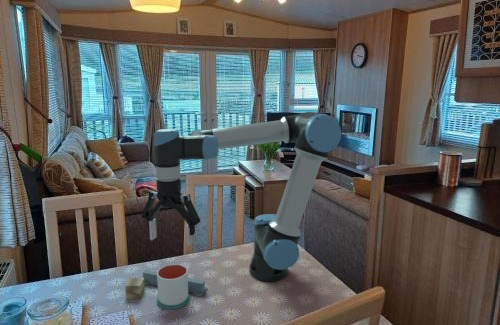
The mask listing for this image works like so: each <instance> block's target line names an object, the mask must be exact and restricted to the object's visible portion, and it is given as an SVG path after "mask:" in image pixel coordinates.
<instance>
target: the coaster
mask: <svg viewBox="0 0 500 325" xmlns="http://www.w3.org/2000/svg"><path fill="white" fill-rule="evenodd" d="M190 299H191V296H190V294H189V293H188V297H187V299H186V300H185V301H184V302H182V303H181V304H178V305H174V306H168V305H164V304H162V303H161V302H160V301H159V298H158V297H157V299H156V304H157V306H158V307H159V308H161V309H163V310H168V311H169V310H177V309H180V308H181V309H182V307H185V306H186V305H188V304H189V302H190Z"/></svg>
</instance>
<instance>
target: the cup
mask: <svg viewBox="0 0 500 325" xmlns="http://www.w3.org/2000/svg"><path fill="white" fill-rule="evenodd" d="M156 272H157V283H158V285H157V298H159V301H160V302H161V303H162V304H164V305H168V306H174V305H178V304H181V303H182V302H184V301H185V300H186V299H187V297H188V294H189V292H188V278H189V273H188V272H189V270H188V268H187V267H186V266H184V265H181V264H169V265H166V266H165V265H164V266H163V267H161V268H160V269H159V270H158V271H156Z"/></svg>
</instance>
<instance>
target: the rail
mask: <svg viewBox="0 0 500 325" xmlns="http://www.w3.org/2000/svg"><path fill="white" fill-rule="evenodd" d="M157 272H158V271H152V270H148V269H145V270H144V271H143V272H142V278H144V285H145V287H146V286H148V285H153V286H158V283H157ZM207 290H208V287H206V281H205V280H201V279H196V278H191V277H188V293H189V292H190V293H194V296H196V297H201V298H202V296H203V295H204V294H205V292H206V291H207Z"/></svg>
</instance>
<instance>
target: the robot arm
mask: <svg viewBox="0 0 500 325" xmlns="http://www.w3.org/2000/svg"><path fill="white" fill-rule="evenodd" d="M153 136H154V138H153V139H154V142H153V143H154V145H153V146H154V147H153V148H154V157H155V158H154V159H155V178H156V183H155V184H156V190H152V191H150V192H148V199H147V201H146V204H145V206H144V209H143V212H142V213H141V216H140V217H141V219H145V220H146V223H147V224H146V225H147V226H146V227H147V229H148V230H149V240H150V241H154V240H155V239H156V238H158V237H157V235H158V234H157V219H156V218H155V216H157V214H158V213H159V212H160V210H161V209H162V207H163V208H171V209H173V208H174V210H176V211H178V213H179V214H180V216H181V217H182V218H183V220H184V222H186V223H187V225H186V246H187V247H188V246H189V247H190V246H191V245H192V244H193V243H194V235H195V233H196V226H197V225H198V224H200V223H201V218H200V216H199V214H198V213H197V212H198V211H197V210H196V208H195V206H194V204H193V202H192V198H191V194H190V193H187V194H182V193H181V191H182V182H181V180H182V179H181V160H182V161H183V160H184V161H185V160H186V161H187V160H206V161H207V160H210V159H211V160H213V159H217V158H218V156H219V150H226V149H227V150H228V149H234V148H239V147H248V146H255V145H261V144H262V145H263V144H268V143H269V144H271V143H277V142H278V143H279V142H284V143H285V144H289V143H295V144H294V147H293V149H294V150H295V153H296V156H295V159H294V161H293V163H292V168H291V169H290V170H291V171H290V173H289V176H288V179H287V182H286V185H285V188H284V191H283V194H282V197H281V199H280V200H281V201H280V203H279V206H278V207H277V208H278V209H277V212H276V214H274V213H269V214H268V213H265V214H259V215H257V216H255V218H254V224H253V229H254V230H253V232H254V233H253V235H254V236H253V240H254V241H253V255H252V257H251V260H250V263H249V266H248V267H249V274H250V275H251V277H253V278H254V279H257V280H259V281H263V282H276V281H280V280H283V279H284V278H285V277H287V276H288V274H289V273H288V272H289V270H288V269H289V268H291V267H293V266H294V265H295V264H296V263H297V261H298V260H299V257H300V248H299V246H298V244H299V241H300V238H301V235H302V232H301V230H300V229H299V227H300V224H301V222H302V220H303V219H302V218H303V216H304V213H305V210H306V207H307V205H308V202H309V199H310V195H311V193H312V190H313V187H314V184H315V182H316V178H317V176H318V173H319V170H320V167H321V164H322V162H325V161H326V160H329V159H328V158H329V156H330V153H331V151H333V150H334V149H335V148H336V147H337V146H339V143H340V141H341V139H342V130H341V126H340V124H339V122H338V121H337V119H335V117H332V116H331V115H330V114H329V115H328V114H326V113H323V112H321V113H320V112H314V111H306V112H301V113H298V114H294V115H287V116H282V117H281V118H280V119H279V120H273V121H272V120H271V121H264V122H256V123H248V124H240V125H234V126H227V127H218V128H212V129H204V130H202V129H196V130H193V131H191V132H190V133H189V135H180V131H179V130H178V129H174V128H164V129H163V128H162V129H157V130H156V131H155V132H154V134H153ZM156 191H157V192H156ZM156 199H158V202H157V203H156V204H155V201H156ZM154 204H155V206H154ZM153 206H154V208H153ZM152 208H153V209H152Z"/></svg>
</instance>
